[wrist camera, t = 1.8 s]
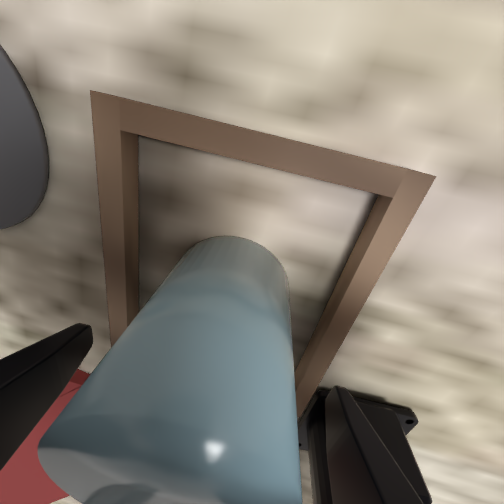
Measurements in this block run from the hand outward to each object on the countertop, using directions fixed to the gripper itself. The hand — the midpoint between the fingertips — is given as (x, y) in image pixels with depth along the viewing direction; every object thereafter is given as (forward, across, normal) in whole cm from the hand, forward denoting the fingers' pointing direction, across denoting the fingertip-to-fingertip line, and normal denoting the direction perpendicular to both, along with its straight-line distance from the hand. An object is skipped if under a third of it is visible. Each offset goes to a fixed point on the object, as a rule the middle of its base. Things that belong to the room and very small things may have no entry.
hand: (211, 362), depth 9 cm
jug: (+4, 0, +1) cm, 5 cm away
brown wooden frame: (+4, 0, 0) cm, 4 cm away
